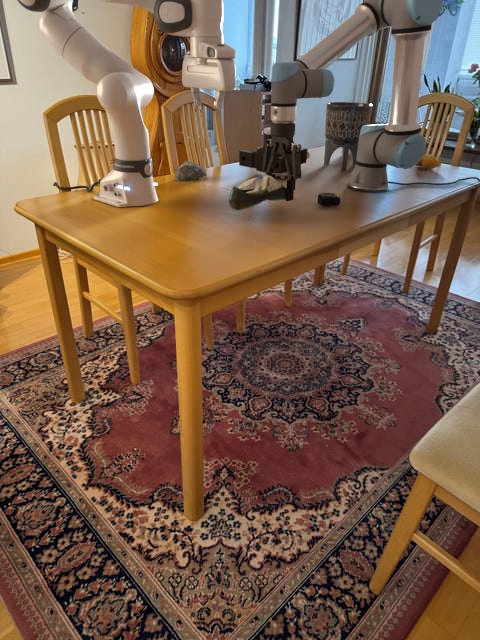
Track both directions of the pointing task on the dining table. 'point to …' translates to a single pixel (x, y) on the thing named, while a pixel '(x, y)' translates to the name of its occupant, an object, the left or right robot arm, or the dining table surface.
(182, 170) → the rock
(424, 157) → the toy
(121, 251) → the dining table surface
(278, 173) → the mechanical component
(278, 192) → the ballet flat
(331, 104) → the planter
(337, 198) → the tape measure
